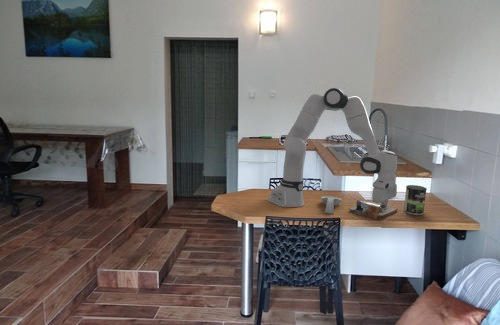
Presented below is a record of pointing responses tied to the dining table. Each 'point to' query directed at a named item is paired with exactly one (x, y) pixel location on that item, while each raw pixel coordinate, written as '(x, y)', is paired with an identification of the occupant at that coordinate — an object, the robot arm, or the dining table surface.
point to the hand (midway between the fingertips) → (383, 207)
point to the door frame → (373, 211)
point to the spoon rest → (330, 203)
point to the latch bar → (365, 204)
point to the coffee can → (415, 199)
